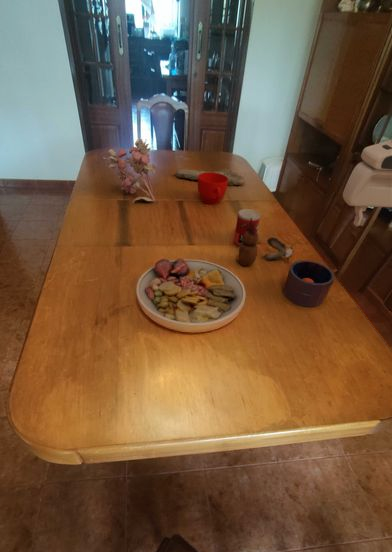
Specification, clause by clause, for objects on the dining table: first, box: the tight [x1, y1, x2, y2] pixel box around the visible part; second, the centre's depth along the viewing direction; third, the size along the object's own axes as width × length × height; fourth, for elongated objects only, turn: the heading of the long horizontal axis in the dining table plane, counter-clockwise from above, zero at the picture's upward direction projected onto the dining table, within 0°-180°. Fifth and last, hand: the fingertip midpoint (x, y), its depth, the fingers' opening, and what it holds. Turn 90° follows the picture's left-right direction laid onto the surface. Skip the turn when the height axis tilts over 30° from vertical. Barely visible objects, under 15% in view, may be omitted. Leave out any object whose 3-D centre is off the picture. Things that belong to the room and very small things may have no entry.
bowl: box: [135, 258, 247, 333], centre depth 88 cm, size 30×30×8 cm
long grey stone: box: [175, 168, 246, 187], centre depth 158 cm, size 35×5×10 cm
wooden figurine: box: [238, 218, 259, 268], centre depth 102 cm, size 7×6×15 cm
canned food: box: [233, 208, 261, 248], centre depth 113 cm, size 8×8×11 cm
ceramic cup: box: [197, 171, 228, 206], centre depth 136 cm, size 13×17×10 cm
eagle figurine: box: [262, 237, 295, 261], centre depth 109 cm, size 8×7×9 cm
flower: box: [102, 138, 159, 204], centre depth 132 cm, size 20×22×25 cm
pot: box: [282, 259, 335, 309], centre depth 94 cm, size 13×13×8 cm
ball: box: [303, 278, 314, 283], centre depth 95 cm, size 5×5×5 cm
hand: (377, 225), depth 70 cm, fingers open, 8 cm apart
